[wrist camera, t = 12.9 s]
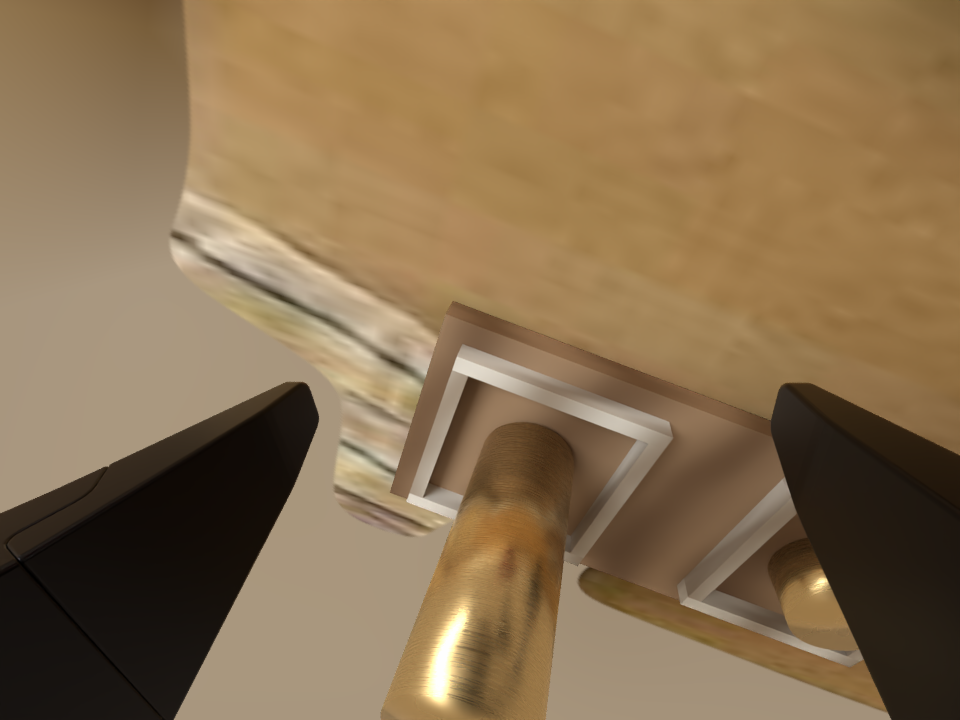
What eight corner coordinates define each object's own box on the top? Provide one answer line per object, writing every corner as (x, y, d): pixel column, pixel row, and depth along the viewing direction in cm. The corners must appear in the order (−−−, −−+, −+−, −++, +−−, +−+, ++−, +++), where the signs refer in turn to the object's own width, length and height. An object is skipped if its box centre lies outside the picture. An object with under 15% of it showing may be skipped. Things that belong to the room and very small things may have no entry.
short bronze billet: (888, 540, 24) (925, 596, 21) (857, 601, 26) (887, 657, 24) (778, 532, 25) (801, 583, 22) (759, 590, 27) (777, 643, 25)
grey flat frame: (1018, 514, 23) (1065, 561, 21) (833, 637, 30) (854, 683, 28) (453, 301, 23) (438, 325, 21) (397, 475, 30) (382, 507, 28)
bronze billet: (552, 412, 23) (494, 696, 12) (588, 486, 25) (566, 794, 14) (466, 434, 25) (351, 693, 14) (505, 501, 27) (428, 779, 16)
